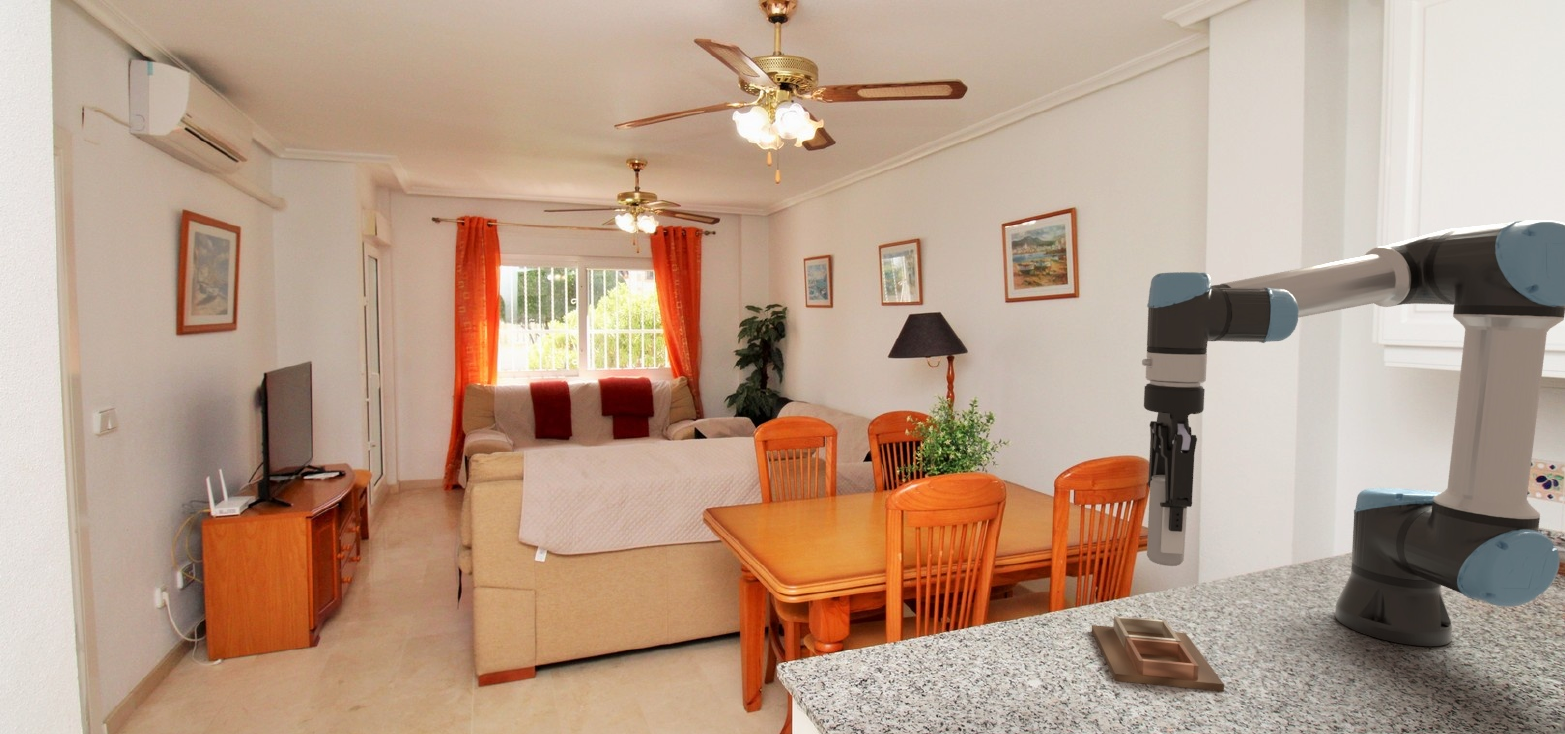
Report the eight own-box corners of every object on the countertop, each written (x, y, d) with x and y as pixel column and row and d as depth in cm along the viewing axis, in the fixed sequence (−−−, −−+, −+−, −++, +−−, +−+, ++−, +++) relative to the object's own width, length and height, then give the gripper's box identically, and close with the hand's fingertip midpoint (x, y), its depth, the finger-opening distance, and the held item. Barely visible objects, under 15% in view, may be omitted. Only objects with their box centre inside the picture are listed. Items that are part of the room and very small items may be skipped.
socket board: (1185, 639, 123) (1186, 620, 123) (1223, 691, 106) (1224, 669, 106) (1091, 631, 126) (1092, 613, 126) (1114, 680, 109) (1115, 659, 109)
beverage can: (1178, 557, 113) (1182, 475, 112) (1188, 568, 108) (1193, 483, 107) (1142, 554, 114) (1146, 473, 113) (1151, 565, 109) (1155, 481, 108)
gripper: (1130, 377, 118) (1123, 527, 120) (1163, 389, 101) (1154, 564, 103) (1183, 378, 117) (1175, 530, 119) (1226, 391, 99) (1216, 569, 101)
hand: (1166, 546), depth 111 cm, fingers closed on beverage can, 5 cm apart
